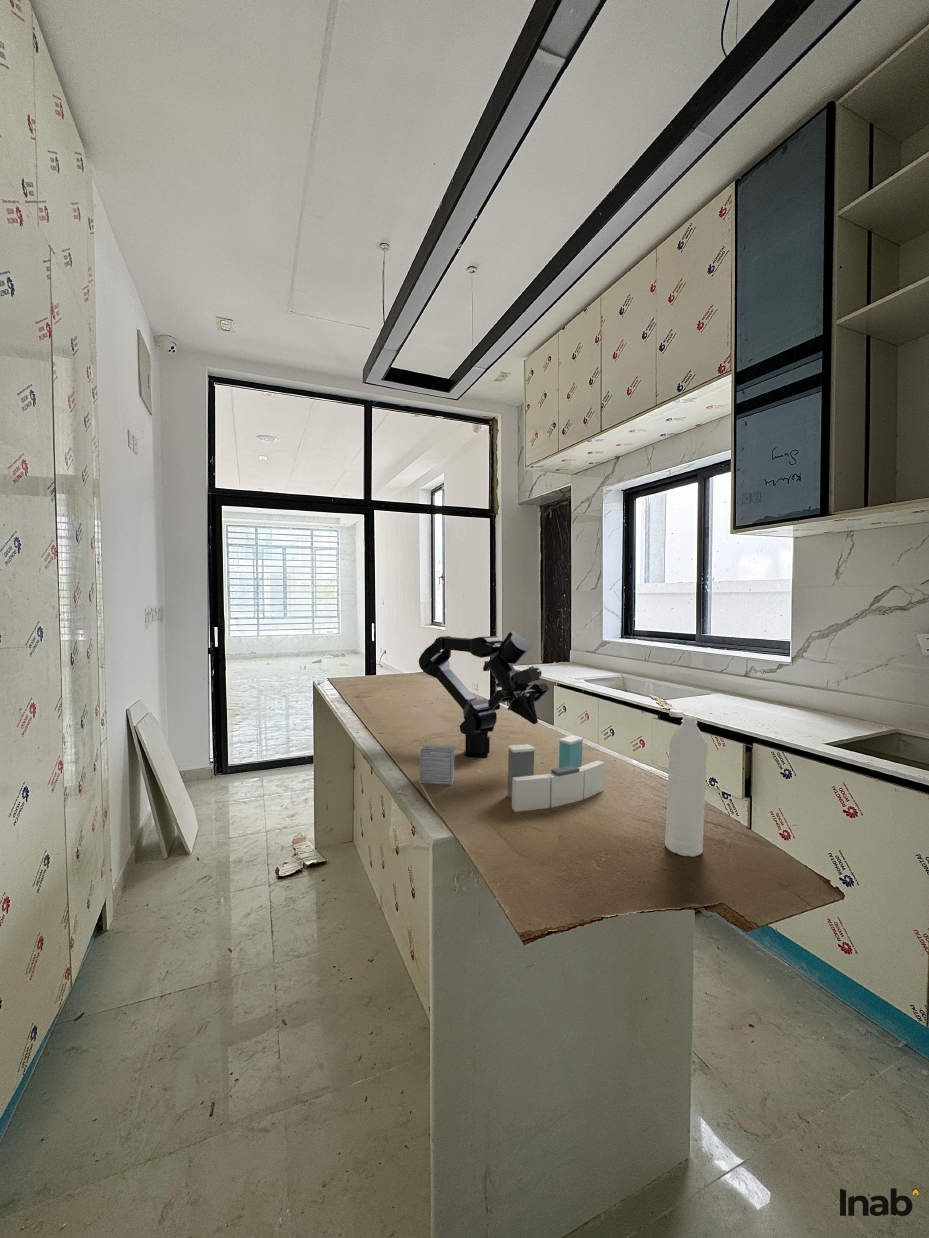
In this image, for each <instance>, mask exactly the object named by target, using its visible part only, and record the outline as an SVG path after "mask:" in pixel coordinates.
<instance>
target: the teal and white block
mask: <svg viewBox="0 0 929 1238" xmlns="http://www.w3.org/2000/svg"><path fill="white" fill-rule="evenodd" d="M583 741H584V737H580V736H576V735H573V734H572V735H568V736H564V737H562V738H559V739H558V742H559V750H558V754H559V755H558V768H561V767H566V766H571V765H573V766H575V767H577V768H579V767H581V766H583Z"/></svg>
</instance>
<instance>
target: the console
mask: <svg viewBox="0 0 929 1238" xmlns="http://www.w3.org/2000/svg"><path fill="white" fill-rule="evenodd" d="M605 765H606V763H605V762H604V761H601V760H595V761H592V762H590V763H587V764H584V765H582V766H581V767H579V768H577V767H575V766H573V765H571V766H566V767H561V768H559V767H557V768H552V769H551V773H547V774H534V775H533V776H522V777H512V800H511V809H512V810H513V812H515V813H516V812H517V813H518V812H525V811H533V810H534V811H535V810H543V809H550V808H551V809H553V808H556V807H561V806H564V805H567V804H573V803H576V802H580V801H583V800H586V799H588V798H590V797H593V796H595V795H597V794H599V793H602V792H603V791H604V790H605V769H606V768H605V767H606V766H605Z"/></svg>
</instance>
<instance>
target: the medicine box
mask: <svg viewBox="0 0 929 1238" xmlns="http://www.w3.org/2000/svg"><path fill="white" fill-rule="evenodd" d="M419 754H420V755H419V784H420V783H422V784H427V785H428V784H429V785H431V784H432V785H447V786H452V785H453V783H454V779H455V746H454V745H445V744H444V745H441V744H422V746H421V748H420V750H419Z"/></svg>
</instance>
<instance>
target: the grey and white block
mask: <svg viewBox="0 0 929 1238" xmlns="http://www.w3.org/2000/svg"><path fill="white" fill-rule="evenodd" d="M507 748H508V757H507V758H508V759H507V760H508V762H507V763H508V766H507V796H508V798H509V799H510V800H511V801H512V777H522V776H533V775H535V774H534V773H535V771H534V770H535V767H534V766H535V751H536V748H535V747H534V746H533V745H531V744H530V743H525V744H512V745H511V744H510V745H508V746H507Z"/></svg>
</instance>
